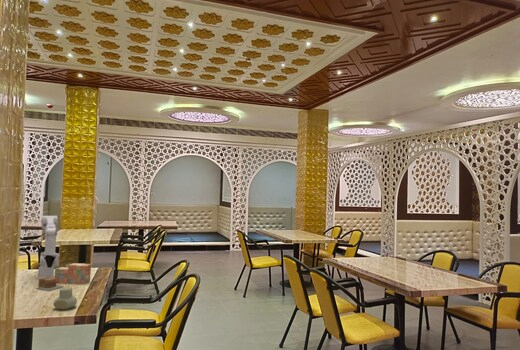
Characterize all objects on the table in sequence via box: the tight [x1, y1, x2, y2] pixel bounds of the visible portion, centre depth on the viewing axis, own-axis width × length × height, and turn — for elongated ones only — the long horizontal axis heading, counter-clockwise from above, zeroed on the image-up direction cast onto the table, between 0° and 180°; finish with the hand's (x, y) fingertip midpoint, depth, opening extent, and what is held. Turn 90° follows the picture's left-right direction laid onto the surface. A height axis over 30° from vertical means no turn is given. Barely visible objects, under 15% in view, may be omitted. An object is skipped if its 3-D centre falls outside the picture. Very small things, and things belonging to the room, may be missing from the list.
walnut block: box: [37, 277, 57, 288], centre depth 233 cm, size 5×5×9 cm
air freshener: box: [53, 287, 78, 311], centre depth 194 cm, size 11×8×10 cm
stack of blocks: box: [54, 262, 92, 285], centre depth 247 cm, size 21×6×12 cm, turn 85°
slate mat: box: [35, 284, 64, 292], centre depth 232 cm, size 11×10×1 cm
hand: (49, 267), depth 243 cm, fingers closed
